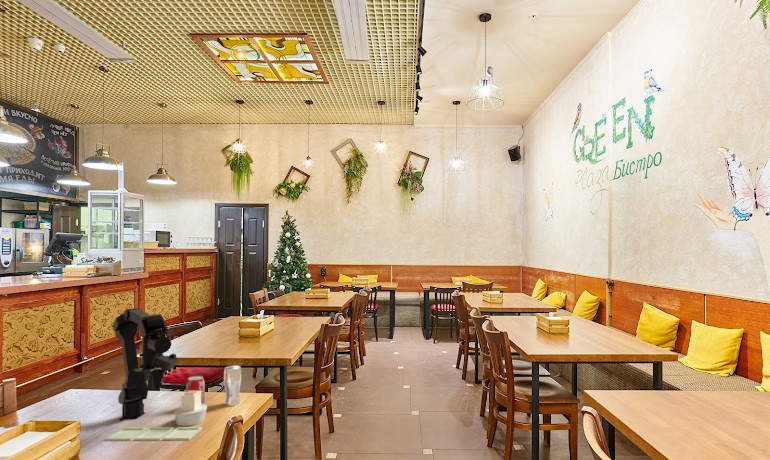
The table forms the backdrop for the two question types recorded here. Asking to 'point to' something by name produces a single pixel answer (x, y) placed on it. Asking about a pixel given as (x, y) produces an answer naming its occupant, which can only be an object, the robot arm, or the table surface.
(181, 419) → the ramekin
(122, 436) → the tray
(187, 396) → the cream block
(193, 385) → the soda can
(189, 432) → the tray
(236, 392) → the beer glass
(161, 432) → the tray
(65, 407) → the table surface
